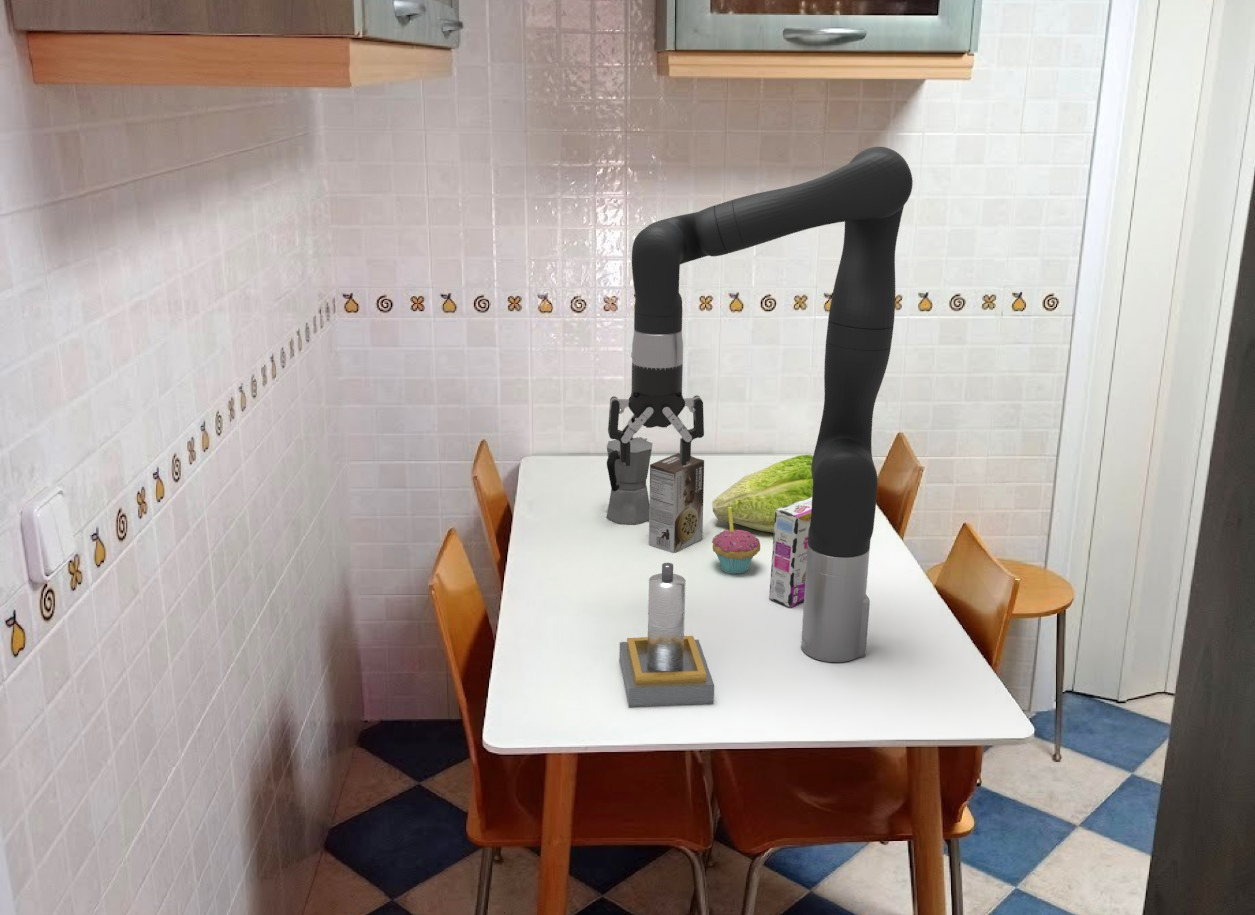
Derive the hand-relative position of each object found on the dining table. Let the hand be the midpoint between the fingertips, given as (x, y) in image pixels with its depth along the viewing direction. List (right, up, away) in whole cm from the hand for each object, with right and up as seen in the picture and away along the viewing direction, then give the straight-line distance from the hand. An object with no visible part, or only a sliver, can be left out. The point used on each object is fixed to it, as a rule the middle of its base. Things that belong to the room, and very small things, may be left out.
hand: (655, 464), depth 182 cm
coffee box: (+5, -15, +45) cm, 47 cm away
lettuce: (+25, -13, +53) cm, 60 cm away
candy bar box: (+25, -23, +23) cm, 41 cm away
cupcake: (+15, -19, +33) cm, 41 cm away
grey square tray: (+1, -32, -6) cm, 32 cm away
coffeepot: (-4, -11, +56) cm, 57 cm away
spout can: (+1, -29, -7) cm, 30 cm away
